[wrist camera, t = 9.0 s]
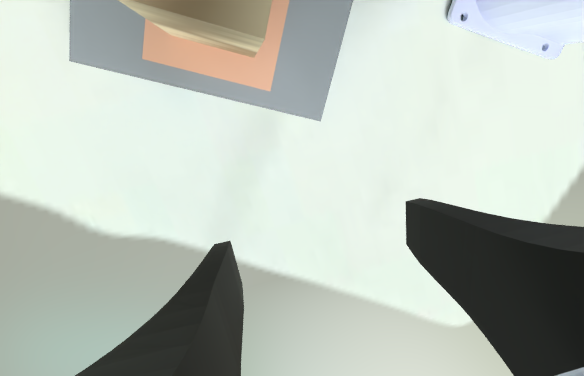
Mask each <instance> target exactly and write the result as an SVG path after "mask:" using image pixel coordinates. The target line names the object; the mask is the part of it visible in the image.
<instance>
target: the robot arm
mask: <svg viewBox="0 0 584 376" xmlns="http://www.w3.org/2000/svg"><path fill="white" fill-rule="evenodd" d="M462 14H463V16H464V19H463V21H461V15H462ZM447 18H448V21H449V23H451V24H453V25H456V26H458V27H461V28H464V29H467V30H469V31H472V32H475V33H478V34H480V35H483V36H486V37H489V38H491V39H494V40H497V41H500V42H503V43H505V44H508V45H511V46H514V47H516V48H519V49H522V50H525V51H527V52H530V53H533V54H536V55H538V56H541V57H544V58H547V59H555V58H557V57H558V56H559V55H560V53H561V51H562V49H563V47H564V45H565V44H571V43H580V42H584V0H453V1H452V4H451V6H450V9H449V12H448V16H447ZM542 46H543V49H542ZM406 244H407V246H408V247H409V249H410V250H411V252H412V253H413V255H414V256H415V257H416V259H417V260H418V261H419V263H420V264H421V265H422V266H423V267H424V268H425V269H426V270H427V271H428V272H429V274H430V275H431V276H432V277H433V278H434V279H435V280H436V281H437V282H438V283H439V284H440V285H441V286H442V287H443V288H444V289H445V290H446V291H447V292H448V293H449V294H450V295H451V297H452V298H453V299H454V300H455V301H456V302H457V303H458V304H459V305H460V306H461V307H462V308H463V309H464V310H465V312H466V313H467V314H468V315H469V316H470V317H471V319H472V320H473V321H474V323H475V324H476V325H477V326H478V328H479V329H480V330H481V331H482V333H483V334H484V335H485V337H486V338H487V339H488V341H489V342H490V343H491V345H492V346H493V347H494V349H495V350H496V351H497V353H498V354H499V355H500V357H501V358H502V359H503V361H504V362H505V364H506V365H507V366H508V368H509V369H510V371H511V372H512V373H513V375H514V376H584V227H577V226H565V225H555V224H546V223H538V222H531V221H524V220H518V219H512V218H506V217H502V216H497V215H492V214H487V213H483V212H478V211H474V210H470V209H466V208H462V207H458V206H454V205H450V204H446V203H442V202H437V201H433V200H428V199H421V198H419V199H415V200H410V201H406ZM243 314H244V302H243V288H242V282H241V278H240V274H239V270H238V267H237V263H236V260H235V256H234V252H233V249H232V245H231V241H227V242H223V243H218V244H214V246H213V247H212V248H211V250H210V251H209V252H208V254H207V255H206V257H205V258H204V259H203V261H202V262H201V264H200V265H199V266H198V267H197V269H196V270H195V272H194V273H193V274H192V275H191V276H190V278H189V279H188V280H187V281H186V282H185V284H184V285H183V286H182V287H181V288H180V290H179V291H178V292H177V293H176V294H175V295H174V296H173V297H172V298H171V300H169V302H168V303H167V304H166V305H165V306H164V307H163V308H161V309H160V311H158V312H157V314H155V315H154V316H153V317H152V318H151V319H150V320H149V321H147V322H146V323H145V324H144V325H143V326H142V327H140V328H139V329H138V330H137V331H136V332H134V333H133V334H132V335H131V336H130V337H129V338H127V339H126V340H125V341H124V342H122V343H121V344H120V345H118V346H117V347H116V348H114V349H113V350H112V351H110V352H109V353H107V354H106V355H105V356H103V357H102V358H100V359H99V360H98V361H96V362H95V363H93V364H92V365H90V366H89V367H88V368H86V369H85V370H83V371H82V372H80V373H78V374H77V375H75V376H241V350H242V333H243Z"/></svg>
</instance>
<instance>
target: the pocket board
mask: <svg viewBox="0 0 584 376" xmlns="http://www.w3.org/2000/svg"><path fill="white" fill-rule="evenodd" d="M352 2H353V0H272V4H271V9H270V15H269V20H268V25H267V30H266V36H265V40H264V41H263V43H262V45H261V47H260V48H259V50H258V52H257V54H256V55H255V57H254V58H252V57H248V56H245V55H241V54H237V53H234V52H230V51H226V50H223V49H219V48H215V47H212V46H208V45H205V44H201V43H197V42H194V41H190V40H186V39H183V38H179V37H175V36H172V35H170V34H169V33H167V32H165V31H164V30H162V29H161V28H159V27H158V26H156V25H155V24H153V23H152V22H150V21H149V20H147V19H146V18H144V17H143V16H141V15H140V14H138V13H136V12H135V11H133V10H132V9H130V8H129V7H127V6H126V5H124V4H123V3H121V2H120V1H118V0H70V59H69V61H71V62H76V63H80V64H84V65H88V66H92V67H96V68H101V69H105V70H109V71H113V72H117V73H121V74H126V75H130V76H134V77H138V78H142V79H146V80H151V81H155V82H159V83H163V84H167V85H171V86H176V87H180V88H184V89H188V90H192V91H196V92H201V93H205V94H209V95H213V96H217V97H221V98H226V99H230V100H234V101H238V102H242V103H246V104H251V105H255V106H259V107H263V108H267V109H271V110H276V111H280V112H284V113H288V114H292V115H296V116H301V117H305V118H309V119H313V120H317V121H321V118H322V114H323V110H324V107H325V103H326V99H327V95H328V92H329V88H330V84H331V81H332V77H333V73H334V69H335V66H336V62H337V58H338V54H339V51H340V47H341V43H342V40H343V36H344V32H345V28H346V25H347V21H348V17H349V14H350V10H351V6H352Z"/></svg>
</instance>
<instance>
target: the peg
mask: <svg viewBox="0 0 584 376" xmlns="http://www.w3.org/2000/svg"><path fill="white" fill-rule="evenodd" d="M118 1H120V2H121V3H123V4H124V5H126V6H127V7H129V8H130V9H132V10H133V11H135V12H136V13H138V14H140V15H141V16H143V17H144V18H146V19H147V20H149V21H150V22H152V23H153V24H155V25H156V26H158V27H159V28H161V29H162V30H164V31H165V32H167V33H169V34H170V35H172V36H175V37H179V38H183V39H186V40H190V41H194V42H197V43H201V44H205V45H208V46H212V47H215V48H219V49H223V50H226V51H230V52H234V53H237V54H241V55H245V56H248V57H252V58H254V57H255V55H256V54H257V52H258V50H259V48H260V47H261V45H262V43H263V41H264V40H265V36H266V30H267V25H268V20H269V15H270V9H271V4H272V0H118Z"/></svg>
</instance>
